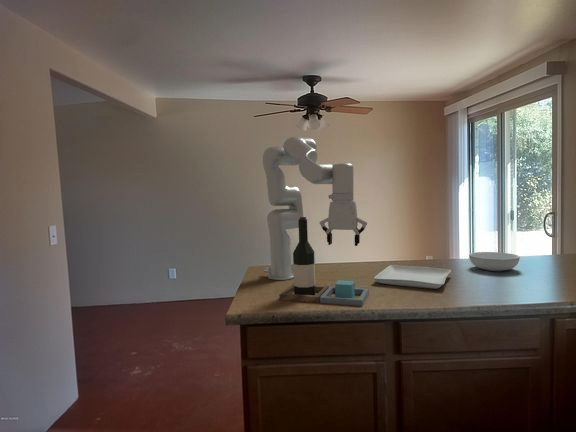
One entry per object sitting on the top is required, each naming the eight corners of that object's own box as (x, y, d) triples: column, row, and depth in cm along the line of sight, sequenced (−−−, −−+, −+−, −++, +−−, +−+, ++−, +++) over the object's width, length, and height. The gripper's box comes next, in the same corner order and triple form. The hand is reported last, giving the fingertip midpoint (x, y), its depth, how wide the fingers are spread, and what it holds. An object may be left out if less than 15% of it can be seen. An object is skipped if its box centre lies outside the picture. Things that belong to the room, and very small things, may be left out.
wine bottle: (309, 299, 136) (307, 218, 134) (290, 296, 140) (287, 217, 138) (319, 293, 143) (317, 216, 141) (301, 291, 147) (298, 216, 145)
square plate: (389, 272, 177) (389, 264, 177) (451, 277, 164) (451, 268, 163) (372, 285, 154) (372, 276, 154) (443, 293, 140) (443, 283, 140)
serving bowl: (519, 267, 178) (519, 252, 177) (519, 276, 160) (519, 260, 160) (471, 263, 189) (471, 250, 189) (466, 271, 172) (466, 257, 171)
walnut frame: (279, 299, 137) (279, 294, 137) (293, 289, 151) (292, 284, 151) (318, 302, 132) (318, 297, 132) (328, 291, 146) (328, 286, 146)
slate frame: (320, 302, 132) (320, 297, 132) (330, 291, 146) (330, 286, 146) (362, 306, 127) (362, 300, 127) (368, 294, 141) (368, 288, 141)
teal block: (335, 300, 134) (335, 284, 134) (339, 295, 140) (338, 280, 140) (352, 301, 132) (351, 285, 132) (354, 296, 138) (354, 281, 138)
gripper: (317, 198, 133) (317, 245, 135) (365, 198, 127) (365, 247, 129) (322, 197, 140) (322, 242, 142) (368, 197, 134) (368, 244, 136)
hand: (343, 244), depth 135 cm, fingers open, 9 cm apart
